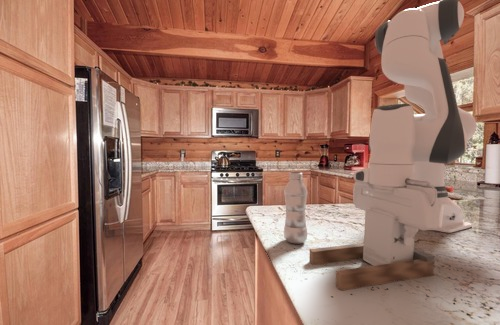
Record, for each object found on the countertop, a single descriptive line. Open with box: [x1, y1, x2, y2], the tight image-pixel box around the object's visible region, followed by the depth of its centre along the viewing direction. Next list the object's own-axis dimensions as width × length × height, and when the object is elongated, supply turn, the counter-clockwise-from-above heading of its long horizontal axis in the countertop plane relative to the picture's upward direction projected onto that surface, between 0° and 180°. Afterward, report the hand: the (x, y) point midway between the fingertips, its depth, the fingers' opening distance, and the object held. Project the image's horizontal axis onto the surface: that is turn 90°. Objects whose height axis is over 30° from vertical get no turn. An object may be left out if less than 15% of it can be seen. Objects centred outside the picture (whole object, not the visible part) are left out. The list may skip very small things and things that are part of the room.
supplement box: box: [362, 208, 416, 266], centre depth 55 cm, size 7×7×13 cm
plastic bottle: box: [283, 171, 308, 245], centre depth 68 cm, size 6×7×20 cm
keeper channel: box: [309, 242, 436, 291], centre depth 53 cm, size 22×12×4 cm, turn 104°
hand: (388, 236), depth 55 cm, fingers closed on supplement box, 7 cm apart
